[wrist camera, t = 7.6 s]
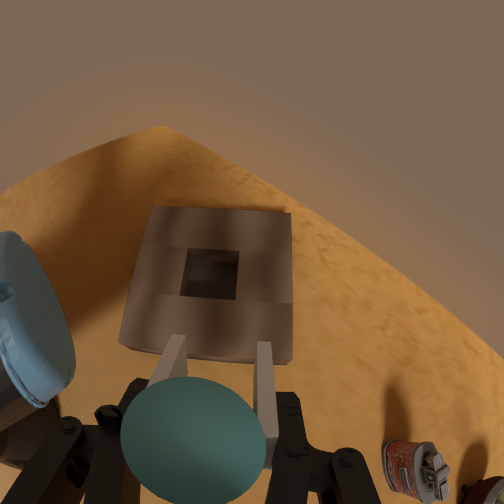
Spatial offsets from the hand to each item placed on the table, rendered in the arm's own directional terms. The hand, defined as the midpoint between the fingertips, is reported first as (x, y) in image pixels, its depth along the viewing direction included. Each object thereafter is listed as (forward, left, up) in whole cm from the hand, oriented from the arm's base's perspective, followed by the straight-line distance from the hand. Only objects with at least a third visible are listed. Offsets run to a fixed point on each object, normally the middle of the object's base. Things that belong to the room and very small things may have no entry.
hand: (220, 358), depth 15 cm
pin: (0, -4, -4) cm, 5 cm away
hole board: (-3, +11, -16) cm, 20 cm away
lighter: (+20, -12, -16) cm, 28 cm away
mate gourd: (+34, -22, -16) cm, 44 cm away
